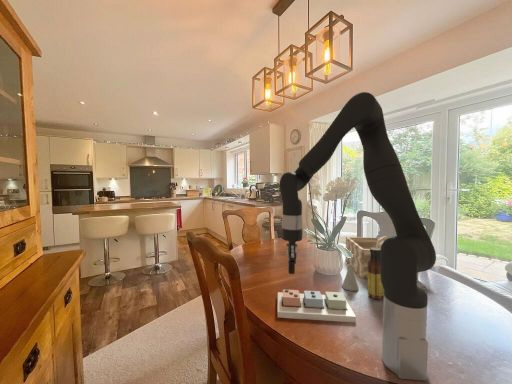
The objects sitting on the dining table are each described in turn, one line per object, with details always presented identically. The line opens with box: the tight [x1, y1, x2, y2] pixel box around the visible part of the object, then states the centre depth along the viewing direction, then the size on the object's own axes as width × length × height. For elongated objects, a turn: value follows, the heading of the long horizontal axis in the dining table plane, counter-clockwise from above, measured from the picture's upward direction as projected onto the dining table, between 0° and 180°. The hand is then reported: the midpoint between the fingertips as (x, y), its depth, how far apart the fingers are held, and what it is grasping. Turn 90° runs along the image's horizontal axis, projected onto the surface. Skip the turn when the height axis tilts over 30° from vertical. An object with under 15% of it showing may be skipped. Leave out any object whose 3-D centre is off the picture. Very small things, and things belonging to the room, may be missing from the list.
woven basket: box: [345, 236, 420, 281], centre depth 123 cm, size 26×26×14 cm
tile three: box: [282, 289, 300, 307], centre depth 84 cm, size 6×6×3 cm
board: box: [277, 291, 357, 323], centre depth 84 cm, size 14×26×2 cm, turn 84°
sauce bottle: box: [367, 248, 384, 301], centre depth 92 cm, size 6×6×20 cm
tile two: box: [303, 290, 323, 309], centre depth 83 cm, size 6×6×3 cm
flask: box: [341, 264, 359, 292], centre depth 100 cm, size 7×7×10 cm
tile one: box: [324, 291, 347, 310], centre depth 83 cm, size 6×6×3 cm
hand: (291, 273), depth 84 cm, fingers closed
